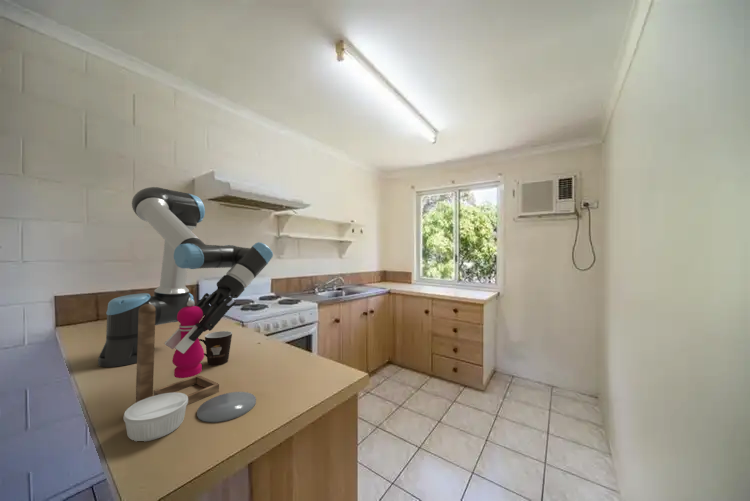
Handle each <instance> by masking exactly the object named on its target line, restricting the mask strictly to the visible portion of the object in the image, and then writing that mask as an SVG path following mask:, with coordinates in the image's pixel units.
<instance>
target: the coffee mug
mask: <svg viewBox="0 0 750 501" xmlns="http://www.w3.org/2000/svg"><path fill="white" fill-rule="evenodd" d="M232 337H233V332H232V331H228V330H221V331H213V332H209V333H207V334H204V339H203V338H202V339H201V338H199V342H203V344H204V345H205V350H206V351H205V352H206V353H205V352H204V357H206V360H207V365H208V366H210V367H211V366H212V367H216V366H221V365H224V364H226V363H228V362H229V358H230V357H229V356H230V350H231V343H232Z"/></svg>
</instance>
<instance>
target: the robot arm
mask: <svg viewBox="0 0 750 501" xmlns="http://www.w3.org/2000/svg"><path fill="white" fill-rule="evenodd" d="M131 206H132V207H131V208H132V210H133V212H134V213H135V215H136V216H137V217H138V218H139V219H140V220H142V221H144V222H147V223H148V224H150V226H151V227H152V228H153V229H154V230H155V231H156V232H157V233H158V234H159V235H160V236H161V237H162V239H164V244H163V254H162V263H161V272H160V282H159V286H158V287H157V288H155V289H154V293H153V295H152V296H151V294H150V293H147V292H144V293H143V292H141V293H132V294H126V295H123V296H122V295H121V296H118V297H115V298H112V299H111V300H110V301H109V302H108V303H107V310H106V313H105V314H106V331H105V332H106V333H105V335H106V338H105V343H104V345H103V347H102V349H101V352H100V354H99V356H98V359H97V360H98V361H97V363H98V366H99V367H101V368H102V367H103V368H108V367H109V368H113V367H122V366H128V365H133V364H137V346H138V316H139V308H140V307H141V306H143V305H145V304H151V305H153V306H154V307H155V309H156V310H155V326H159V325H166V324H170V323H177V322H178V320H177V314H178V312H179V311H180V310H181V309H182V308H184V307H187V302H188V301H191V300H192V301H194V302H195V298H194V295H193V294H191V293H190V289H189V288H188V287H187V286H186V283H187V276H188V275H187V274H188V270H197V269H216V268H217V269H225V268H226V269H228V268H230V269H228V270H227V272H226V273H225V274H224V275H223V276H221V278H220V279H218V281H217V282H216V287H217V289H216V290H214V291H213V292H212V293H210V294H209V293H208V292H206V293H204V295H203V296H202V298H200V300H198V302H197V303H196V304H194V306H197V307H199V308H201V309H202V311H203V318H202V319H201V320H200V322H199V323H196V324H195V325H196V326H197V327H198V328H197V327H196V326H194V327H193V328H192V329H191V330H190V331H189V332H188V333H187V335H186V336H185V337H184V338H183V339H182V340H181V331H179V327H178V328H177V330H175V331H174V332H173V333H172V335H171V336H170V337H169V338H168V339H166V341H165V342H164V343H163V344H164V345H165V346H167V347H169V348H170V349H171V350H174V349H175V350H176V349H177V350H178V351H180V352H181V353H183V354H184V353H185V352H186V351H187V349H188V348H189V347H190V346H191V345H192V344H193V343H194V342H195V340H196V339H197V338H199V337H200V336H201V335H202V334H203V333H204V332H207V331H212V330H213V329H214V328H215V326H216V325H217V324H218V323H219V322H220V321H221V319H222V318H223V317H224V316H225V315H226V314H228V312H229V310H230V309H231V308H233V307H234V306H235V305H236V304H237V301H235V300H234V299H237V298H239V297H240V295H241V294H242V293H243V292H244V291H245V289H247V287H249V285H251V283H252V282H253V280H254V279H255V278H256V277H257V276H258V275H259V274H260V273H261V272H262V270H264V268H265V267H266V266H267V265H268V264H269V262H270V261H271V260H272V259H273V256H274V253H273V251H272V249H271V248H270V247H269V246H268V245H267V244H266V243H263V242H256V243H254V244H253V245H252V246H251V247H243V246H237V245H234V244H233V245H230V244H227V245H226V244H225V245H220V244H219V245H217V244H206V243H204V242H203V241H202V240H201V239H200V238H199V237H198V236H197V235H196V234H195V233H194V232H193V230H195V228H197V225H198V223H199V224H200V223H201V222H202V221H203V219H204V218H205V214H206V210H205V208H206V207H205V205H204V203H203V201H202V199H201V198H200V197H199V196H197V195H194V194H192V193H187V192H182V191H177V190H172V189H169V188H168V189H166V188H164V187H157V186H156V187H155V186H151V187H145V188H143V189H141V190H139V191H137V192H136V193H135V194H134V196H133V198H132V199H131ZM178 323H179V322H178ZM180 340H181V341H180Z"/></svg>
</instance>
